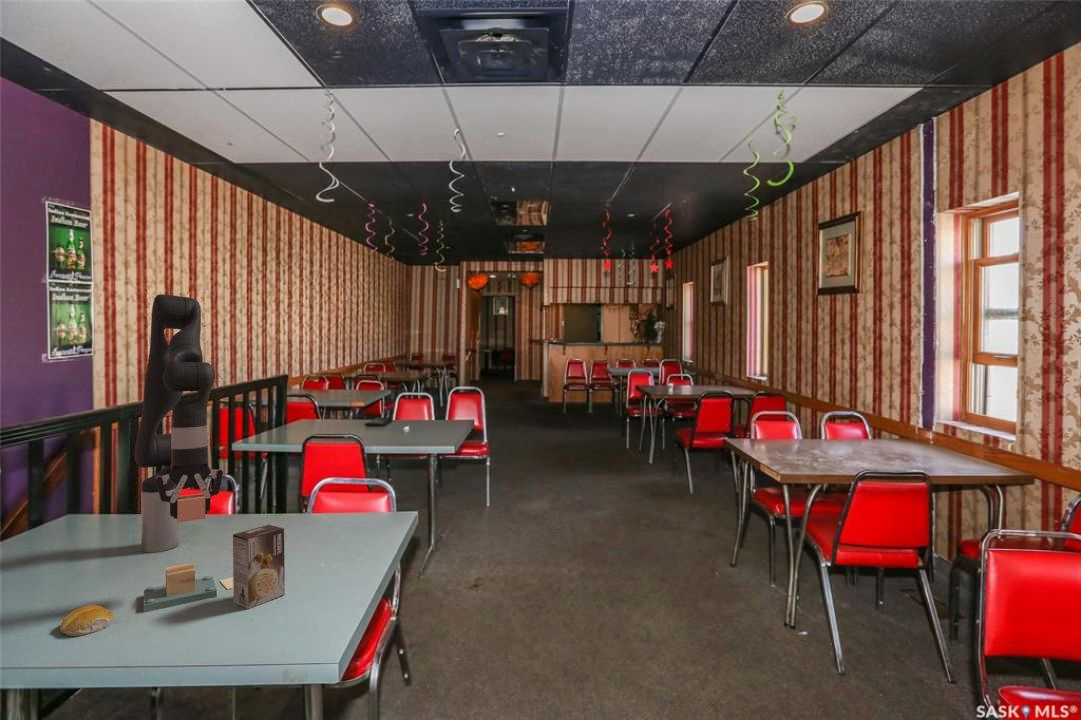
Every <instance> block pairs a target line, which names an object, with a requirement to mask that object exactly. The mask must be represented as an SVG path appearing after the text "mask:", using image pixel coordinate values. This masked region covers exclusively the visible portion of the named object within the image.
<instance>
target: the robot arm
mask: <svg viewBox="0 0 1081 720" xmlns="http://www.w3.org/2000/svg"><path fill="white" fill-rule="evenodd" d="M150 320H151V323H150V338H149V339H150V340H149V341H150V342H149V353H148V358H147V366H146V373H145V378H144V379H145V380H144V387H143V388H144V389H143V400H142V408H141V409H142V411H141V417H140V421H139V422H140V423H139V426H138V431H137V434H136V435H137V436H136V441H135V445H134V446H135V447H134V459H135V460H134V461H135V463H136V466H138V467H139V468H141V469H142V468H144V469H145V468H146V469H147V468H156V467H162V469H161V470H160V471H159V472H157V473H156V474H154V475H152V476H150V477H147V478H145V479H144V480H142V482H141V486H140V487H141V488H140V489H141V490H140V492H141V493H140V494H141V496H140V497H141V499H140V501H141V504H140V505H141V508H140V509H141V511H140V512H141V515H140V517H141V520H140V521H141V527H140V529H141V532H140V533H141V536H140V537H141V539H140V541H141V542H140V543H141V545H140V546H141V547H140V548H141V552H143V551H145V552H144V553H158V552H159V553H160V552H164V551H169V550H172V549H174V548H177V547H179V546H180V522H179V523H178V522H177V519H176V518H177V501H176V500H177V498H178V496H180V494H181V492H182V490H185V489H189V488H194V489H195V488H199V489H200V491H201V494H202V493H203V495H204V496H205V515H207V514H208V512H210V511H211V498H212V497H213V496H217V495H218V494H219V493H220V490H221V484H222V479H223V475H224V471H223V469H221V468H218V469H213V468H210V466H209V441H210V440H209V431H208V424H207V423H208V420H207V416H208V415H207V413H208V403H209V399H210V395H211V391H212V389H213V386H214V383H215V379H216V372H215V368H214V366H213V365H212V364H211V363H209V362H205V361H203V360H204V357H203V350H202V347H201V346H202V345H201V331H202V329H201V328H202V324H201V323H202V309H201V305H200V302H199V301H198V299H195V298H192V297H187V296H183V295H182V296H179V295H172V294H171V295H170V294H161V293H160V294H157V295H156V296H155V297H154V299H153V302H152V308H151V319H150ZM166 329H168V330H179V331H177V332H176V333H174V335H173V336H172V337H171V338H170V340H169V341H168V340H167V338H166V332H165V330H166ZM183 392H197V394H196V395H195V396H194V398H192V399H188V400H184V401H180V400H181V398H182V396H183ZM171 410H172V413H171V414H172V415H171V416H172V429H171V433H163V434H156V432H157V429H158V427H159V425H160V424H161V422H162V421H163V420H164V418H165V417H166V416H167V415H168V414H169V413H170V412H171ZM210 475H211V477H212V478H213V479H214V480H213V485H212V489H211V490H208V487H207V485H206V483H205V481H206V480H207V478H208V477H209V476H210Z"/></svg>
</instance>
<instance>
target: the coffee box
mask: <svg viewBox="0 0 1081 720" xmlns="http://www.w3.org/2000/svg"><path fill="white" fill-rule="evenodd" d="M232 557H233V559H232V564H233V565H232V570H233V571H232V573H233V574H232V577H233V589H232V590H233V600H232V601H233V604H235V605H237V606H240V607H243V608H245V609H247V610H249V609H252V608H255V607H257V606H260V605H262V604H266V603H267V602H270V601H272V599H273V600H274V599H275V600H276V599H277V598H280V597H283V596H285V594H286V593H285V591H286V590H285V589H286V588H285V587H286V583H285V581H286V580H285V579H286V578H285V577H286V575H285V573H286V572H285V567H286V566H285V528H283V527H280V526H276V525H271V524H266V525H263V526H258V527H255V528H252V529H248V530H244V531H241V532H238V533H237V532H236V533H234V534H232Z"/></svg>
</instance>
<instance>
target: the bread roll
mask: <svg viewBox="0 0 1081 720" xmlns="http://www.w3.org/2000/svg"><path fill="white" fill-rule="evenodd" d="M113 620H114V614H113V612H112V611H111V610H109V609H106V608H105V607H103V606H101V605H97V604H91V605H85V606H81V607H78V608H76V609H74V610H72V611H71V612H69V613H68V614H67V615H66V616H65V617H64V618H63V619H62V622H61V624H60V625H59V629H60V632H61V633H62V634H65V635H66V636H70V637H80V636H85V635H88V634H93V633H96V632H99V631H101V630H104V629H106V628H107V627H108V626H109V625H110V624H111V622H113Z"/></svg>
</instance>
